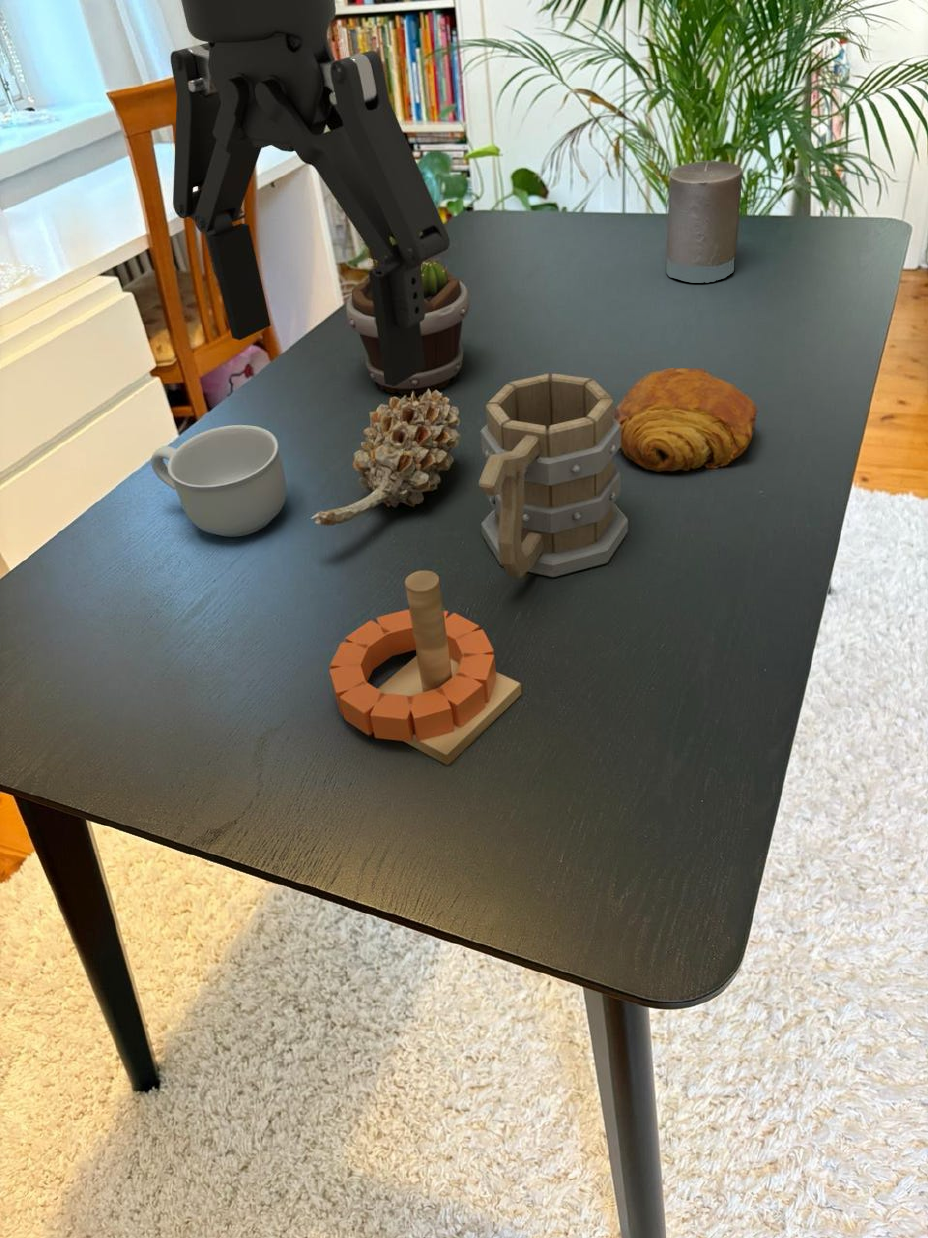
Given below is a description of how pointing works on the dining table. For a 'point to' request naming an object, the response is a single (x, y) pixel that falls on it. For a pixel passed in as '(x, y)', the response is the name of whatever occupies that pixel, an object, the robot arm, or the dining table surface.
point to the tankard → (551, 476)
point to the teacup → (226, 478)
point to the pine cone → (402, 453)
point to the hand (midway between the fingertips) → (324, 353)
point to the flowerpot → (437, 328)
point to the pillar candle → (703, 213)
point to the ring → (418, 711)
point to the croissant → (684, 421)
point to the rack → (441, 670)
